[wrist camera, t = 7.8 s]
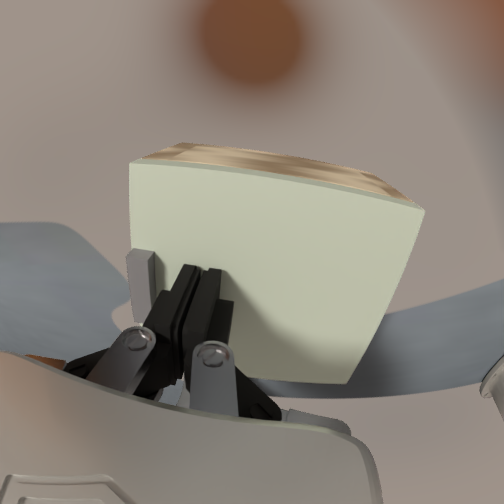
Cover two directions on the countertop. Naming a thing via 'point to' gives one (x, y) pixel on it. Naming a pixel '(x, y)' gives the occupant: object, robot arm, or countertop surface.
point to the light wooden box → (277, 166)
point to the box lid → (273, 260)
